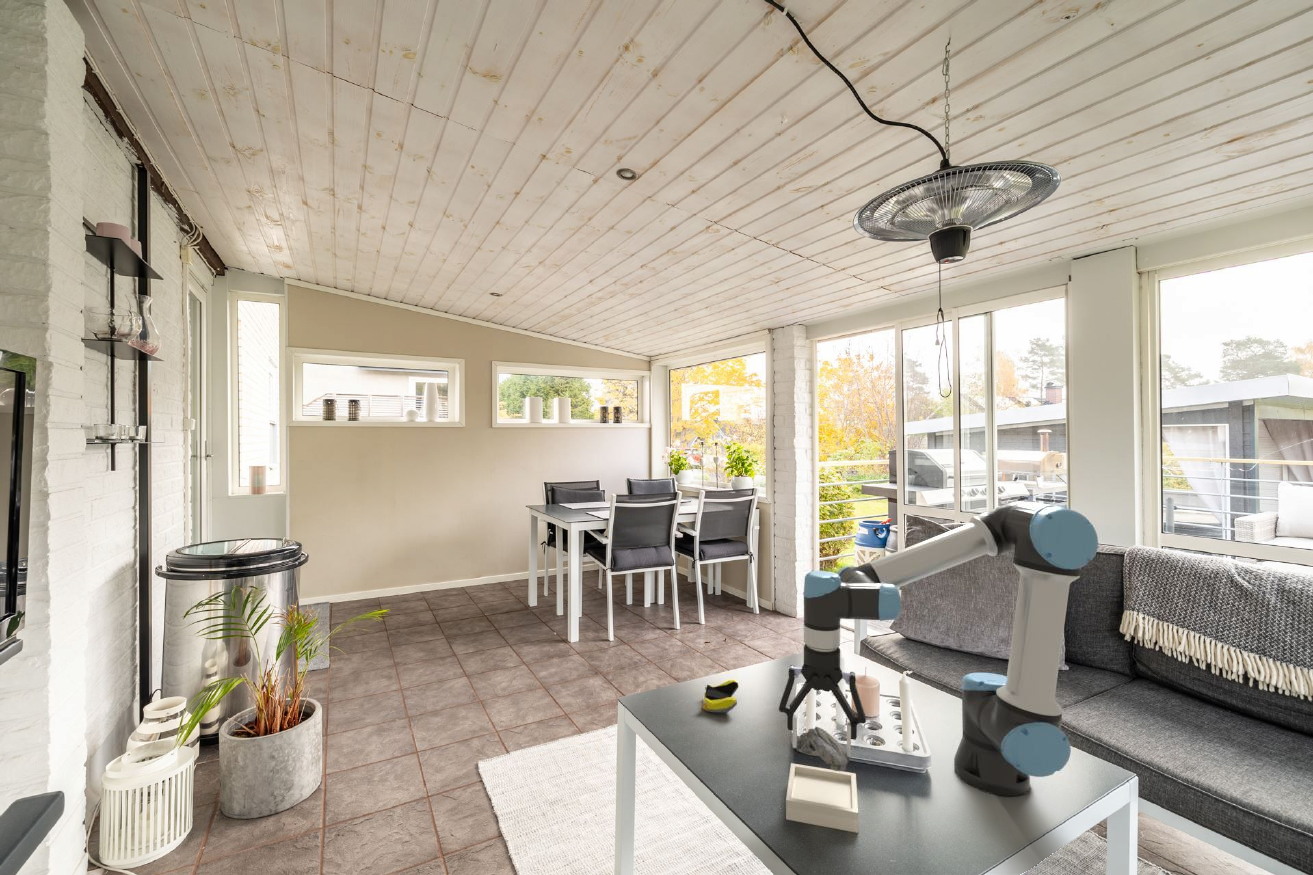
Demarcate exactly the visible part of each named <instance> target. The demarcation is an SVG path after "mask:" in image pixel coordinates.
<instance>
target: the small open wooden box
mask: <svg viewBox="0 0 1313 875" xmlns="http://www.w3.org/2000/svg"><path fill="white" fill-rule="evenodd" d="M788 776H789V777H788V784H787V790H786V796H785V819H786V821H787V820H788V821H793V822H798V823H799V822H800V823H803V824H808V825H815V826H820V827H826V828H831V829H834V830H835V829H837V830H841V831H847V832H850V833H855V834H857V833H858V834H859V806H858V789H857V788H858V787H857V774H856V773H855V772H848V771H834V770H832V769H831V768H824V767H816V766H810V765H804V764H800V763H799V764H797V763H793V762H791V763H790V769H789V775H788Z"/></svg>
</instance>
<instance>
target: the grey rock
mask: <svg viewBox="0 0 1313 875" xmlns="http://www.w3.org/2000/svg"><path fill="white" fill-rule="evenodd" d="M796 749H797V750H798V751H800V752H801V753H803V754H807V755H808V756H814V757H820V759H821V760H822V761H823V762H825V764H826V765H828V766H829V767H830V770H834V771H843V772H846V770H847V769H846V768H847V765H848V764H849V762H851V761H850V760H851V759H850V757H848V756H847V750H845V749H844V747H843V746H842V745H841V744H840V742H839V741H838V740H837V739H835V737H833V735H832V734H830V733H829V732H827V731H826V730H825V729H823V728H821V727H819V726H815V727H814V728H808V730H807V732H803V733H801V734H800V735H799V737H797V746H796Z"/></svg>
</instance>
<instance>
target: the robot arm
mask: <svg viewBox="0 0 1313 875" xmlns="http://www.w3.org/2000/svg"><path fill="white" fill-rule="evenodd" d="M1098 547H1099V537H1098V534H1097V531H1096V529H1095V526H1093V523H1091V522H1090V520H1089V519H1088V518H1087V517H1086V516H1085V515H1083V514H1082V513H1080V512H1078V511H1076V510H1073V509H1071V508H1067V507H1066V506H1061V505H1056V504H1055V505H1054V504H1047V503H1043V502H1038V501H1033V500H1017V501H1013V502H1009V503H1005V504H1003V505H1001V506H996V507H995V508H991V509H990V510H988V511H985V512H982V513H979V514H976V515H975V516H971V517H970V520H969V522H968V523H967V524H964V525H962V526H960V527H957V528H954V529H951V530H949V531H946V532H944V533H942V534H938V535H936V536H933V537H931V538H928V539H926V540H923V541H921V542H918V543H915V544H912V545H910V546H908V547H905V548H903V549H900V550H898V551H894V552H892V553H890V554H888V555H885V556H883V557H880V558H877V559H875V560H872V561H869V562H866V563H864V564H862V565H859V566H855V565H854V566H853V565H845V566H843V567H841V568H839V569H838V570H837V572H833V571H826V570H813V571H809V572H808V573H806V574H805V576H804V581H803V582H804V584H803V592H802V595H803V642H804V645H803V665H802V666H801V667H800V666H795V665H794V664H789V668H788V679H787V682H786V685H785V687H784V690H783V694H782V696H781V700H780V703H779V705H778V706H779V707H778V711H779V712H780V713H784V714H786V715H787V720H786V721H787V725H786V726H787V729H788V731H792V748H793V749H797V741H798V712H797V710H798V709H799V707H800V705H801V704H802V702H804V699H805V698H806V697H807V696H808V694H809V693H810V692H811V690H812V689H813V690H814V691H824V692H826V693H827V692H828V693H829V692H830V691H831V693H832V695H833V696H834V697H835V699H836V701H837V702H838V704H839V705H840V707H841V708H842V711H843V713H844V715H845V716H846V717H847V719H846V753H847V756H848V757H849V758H851V757H852V740H854V741H857V737H858V734H857V733H858V732H857V729H858V728H857V727H858V725H860V724H862V725H863V724H866V722H867V718H866V712H865V710H864V709H865V708H864V707H863V703H862V700H861V698H860V694H859V691H858V687H857V684H856V679H857V678H856V673H855V671H849V672H844V671H843V670H842V669H841V649H840V646H841V620H861V621H862V620H865V621H866V620H867V621H880V622H883V621H893V620H894V621H895V620H897V619H898V618H899V617H900V614H901V611H902V601H901V595H900V592H899V588H901V587H903V586H905V585H908V584H911V583H914V582H916V581H919V580H922V579H924V578H926V577H929V576H932V575H936V574H937V573H940V572H942V571H945V570H948V569H951V568H954V567H956V566H959V565H961V564H964V563H967V562H969V561H971V560H974V559H976V558H979V557H982V556H985V555H987V556H991V557H996V556H998V555H1001V554H1006V553H1014V554H1013V562H1012V564H1013V566H1014V567H1015V569H1016V570H1017V571H1018V572H1019V579H1018V580H1019V581H1018V587H1017V597H1016V604H1015V612H1014V619H1013V626H1012V634H1011V641H1010V642H1011V644H1010V651H1009V655H1008V656H1009V658H1008V665H1007V671H1006V672H1007V673H1006V675H1004V674H1003V675H1002V674H997V673H990V672H970V673H968V674H965V675H964V676H963V678H962V685H961V699H962V700H961V701H962V702H961V706H962V708H961V710H962V714H961V716H962V717H961V719H962V722H961V723H962V726H961V727H962V737H961V739H960V742H959V745H958V747H957V750H956V752H955V755H954V758H953V761H954V763H953V764H954V765H953V768H954V772H955V774H956V775H957V776H958V777H959V778H960V780H962V782H963V781H964V782H965V783H966V784H968V785H969V786H971V787H973V788H975V789H977V790H980V791H982V792H985V793H988V792H989V794H992V795H996V794H997V796H1002V797H1005V796H1006V797H1018V796H1023V795H1025V794H1026V793H1028V792H1029V790H1030V788H1031V777H1036V778H1044V777H1048V776H1052V775H1054V773H1056V772H1059V771H1061V770H1063V768H1064V767H1065V766H1066V765H1067V764H1068V762H1069V759H1070V756H1071V752H1072V751H1071V743H1070V741H1069V738H1068V737H1067V735H1066V734H1065V732H1064V731H1063V730H1061V726H1062V725H1061V724H1062V717H1063V708H1062V707H1061V706H1060V704H1059V703H1058V702H1057V701H1056V692H1057V690H1056V689H1057V684H1058V677H1059V676H1058V675H1059V668H1060V659H1061V653H1062V646H1063V637H1064V632H1065V623H1066V614H1067V608H1068V600H1069V594H1070V593H1069V592H1070V585H1071V583H1072V582H1075V581H1076V580H1078V579H1080V577H1081V573H1082V568H1083V567H1085V566H1087V565H1088V563H1089V562H1090V561H1092V560H1093V559H1094V558H1095V556H1096V555H1097V551H1098ZM800 674H801V675H802V677H803V679H805V682H804V683H803V685H802V687H801V688H800V690H799V691H798V693H797V694H796V696H795V697H794V698H793V700H792V702H791V703H790V704H789V705H788V701H789V698H790V696H791V692H792V690H793V687H794V684H795V679H797V678H799V675H800ZM842 679H843V680H844V682H845V684H846V685H847V686H849V691H850V694H851V697H852V700H853V701H852V702H853V704H854V707H855V710H856V714H855V712H854V710H853V708H852V707H851V705H850V703H849V702H848V700H847V698H846V697H845V695H844V693H843V692H842V690H841V688H840V686H839V683H840V682H841V681H842Z"/></svg>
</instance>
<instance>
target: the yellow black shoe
mask: <svg viewBox="0 0 1313 875" xmlns="http://www.w3.org/2000/svg"><path fill="white" fill-rule="evenodd" d="M738 689H739V683H738V681H737V680H735V679H728V680H726V681H725V682H723V683H721V684H718V685H716V686H712V685H710V684H707V685H706V684H705V685H704V690H705V692H704V697H702V709H703V710H704V711H706V712H709V713H728V712H730V711H732V710H733V709H734V708H735V707H736V706H737V704H738V701H737V699H736V698H734V697H733V696H734V694H735V693H736V692H737V690H738Z"/></svg>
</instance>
